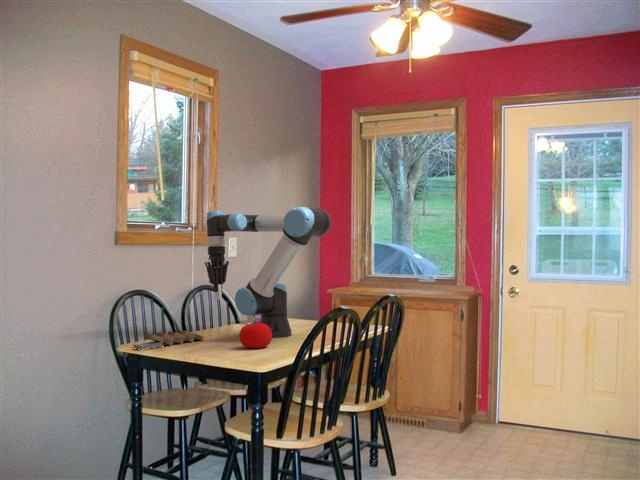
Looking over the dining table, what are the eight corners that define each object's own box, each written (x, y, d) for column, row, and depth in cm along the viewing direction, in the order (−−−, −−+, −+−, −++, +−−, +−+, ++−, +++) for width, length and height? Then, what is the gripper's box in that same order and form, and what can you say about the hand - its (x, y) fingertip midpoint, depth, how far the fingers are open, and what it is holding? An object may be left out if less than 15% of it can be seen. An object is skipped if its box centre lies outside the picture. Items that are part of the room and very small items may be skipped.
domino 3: (183, 339, 259) (164, 333, 252) (182, 344, 259) (163, 337, 252) (176, 339, 262) (157, 332, 255) (174, 343, 262) (156, 336, 255)
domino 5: (203, 336, 268) (186, 330, 261) (202, 340, 267) (185, 335, 260) (196, 335, 271) (178, 330, 264) (195, 339, 270) (177, 334, 263)
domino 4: (194, 338, 264) (175, 332, 256) (193, 342, 263) (174, 336, 256) (186, 337, 267) (168, 331, 260) (185, 341, 266) (167, 335, 259)
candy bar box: (260, 322, 332) (259, 291, 333) (267, 322, 330) (267, 291, 330) (246, 324, 323) (246, 292, 323) (254, 325, 320) (253, 293, 320)
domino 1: (162, 342, 251) (141, 346, 243) (162, 346, 251) (141, 350, 243) (154, 341, 254) (133, 345, 246) (155, 345, 254) (133, 349, 246)
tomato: (274, 348, 240) (274, 321, 240) (241, 351, 236) (241, 323, 236) (268, 344, 250) (268, 318, 250) (236, 347, 247) (236, 320, 247)
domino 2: (173, 340, 255) (153, 334, 248) (171, 345, 255) (152, 338, 247) (165, 340, 258) (146, 333, 251) (164, 344, 258) (144, 338, 251)
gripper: (211, 245, 272) (213, 300, 271) (232, 245, 282) (234, 298, 282) (199, 246, 276) (201, 300, 276) (221, 246, 287) (223, 298, 286)
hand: (218, 299), depth 279 cm, fingers closed
